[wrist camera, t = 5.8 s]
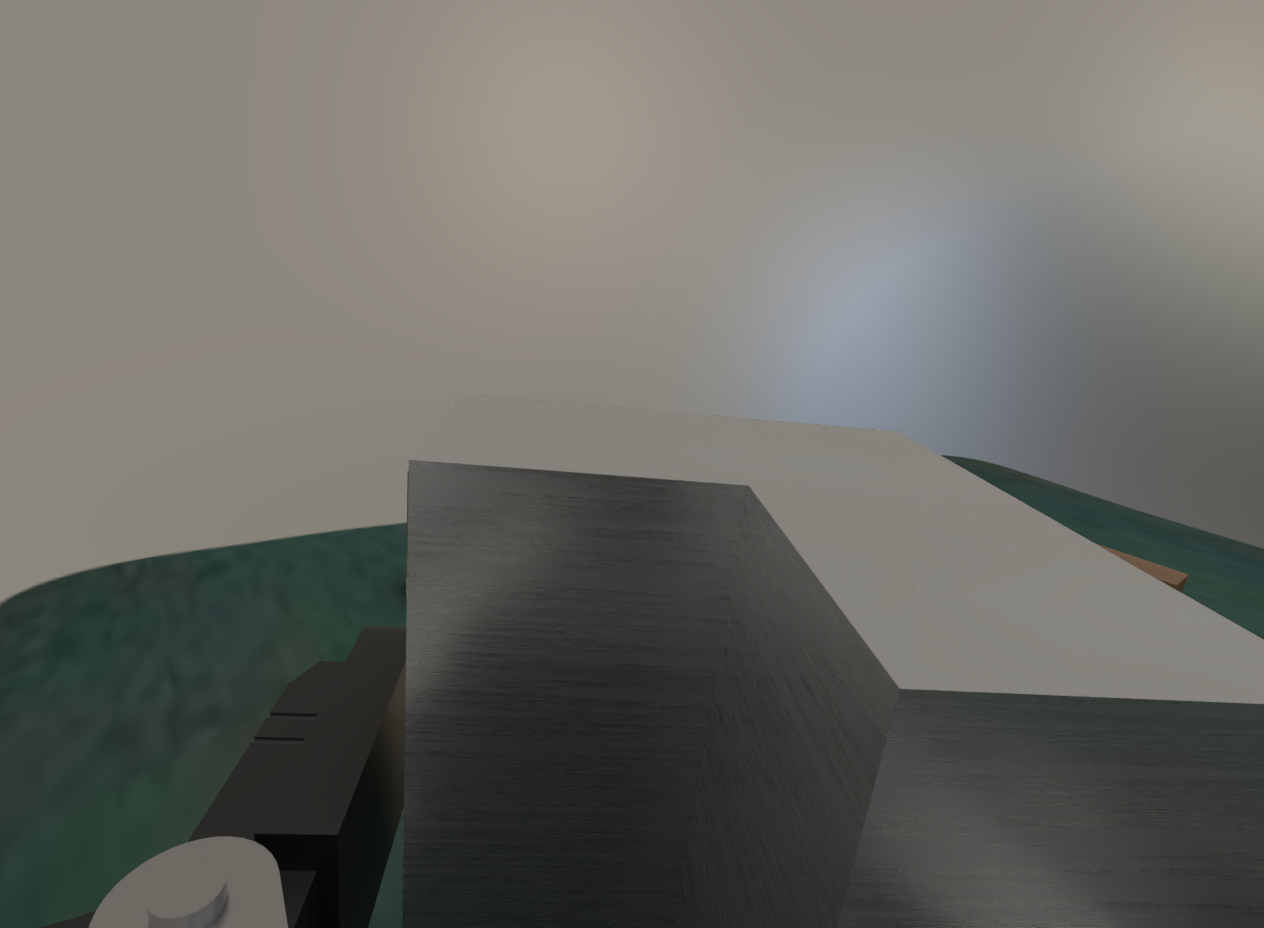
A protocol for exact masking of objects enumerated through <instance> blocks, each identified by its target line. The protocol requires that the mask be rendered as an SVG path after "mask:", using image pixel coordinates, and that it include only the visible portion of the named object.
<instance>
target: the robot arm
mask: <svg viewBox="0 0 1264 928" xmlns="http://www.w3.org/2000/svg"><path fill="white" fill-rule="evenodd" d="M405 700H406V628H401V627H380V626H366V627H365V628H364V629H363V631H362V633H361V634H360V636H359V638H358V640H357V642H356V644H355V646H354V648H353V649H352V651H351V653H350V655H349V657H348V659H347V661H346V662H329V661H319V662H318V663H316V664H315V665H314V666H312V667H311V668H310V669H308V670H307V671H306V672H304V673H303V674H301V675H300V676H299V677H297V678H296V679H295V680H293V681H292V682H291V683H289V684H288V685H287V687H286V689H285V690H284V692H283V693H282V695H281V696H280V698H279V700H278V701H277V703H276V704H275V706H274V707H273V709H272V711H271V712H270V717H269V718H266V720H265V722H264V723H263V725H262V726H261V728H260V729H259V731H258V732H257V734H256V736H255V740H254V743H250V745H249V747H248V748H247V750H246V751H245V753H244V754H243V756H242V758H241V759H240V761H239V762H238V764H237V765H236V767H235V769H234V770H233V772H232V773H231V775H230V776H229V778H228V780H227V781H226V783H225V784H224V786H223V787H222V789H221V791H220V792H219V794H218V795H217V797H216V798H215V800H214V802H213V803H212V805H211V806H210V808H209V809H208V811H207V813H206V814H205V816H204V817H203V819H202V820H201V822H200V823H199V825H198V827H197V828H196V830H195V831H194V833H193V834H192V836H191V838H190V839H189V841H188V842H187V843H185V844H182V845H179V846H176V847H173V848H171V849H169V850H167V851H165V852H163V853H161V854H158V855H156V856H155V857H153V858H151V859H150V860H148V861H146V862H145V863H143V864H141V865H140V866H139V867H137V868H136V869H135V870H133V871H132V872H131V873H129V874H128V875H127V876H126V877H125V878H123V879H122V880H121V881H120V882H119V883H118V884H117V885H116V886H115V887H114V888H113V889H112V890H111V891H110V892H109V894H108V895H107V896H106V897H105V898H104V900H103V901H102V903H101V904H100V906H99V907H98V909H97V910H96V911H94V912H91V913H88V914H86V915H83V916H80V917H76V918H73V919H70V920H67V921H63V922H59V923H55V924H51V925H47V926H43V927H39V928H368V926H369V922H370V919H371V915H372V912H373V909H374V905H375V902H376V898H377V895H378V892H379V888H380V885H381V881H382V878H383V875H384V871H385V868H386V864H387V861H388V858H389V854H390V851H391V847H392V844H393V841H394V837H395V834H396V830H397V827H398V824H399V820H400V817H401V813H402V810H403V807H404V773H405Z"/></svg>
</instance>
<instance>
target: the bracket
mask: <svg viewBox="0 0 1264 928" xmlns="http://www.w3.org/2000/svg"><path fill="white" fill-rule="evenodd" d="M402 928H1264V640H1263V639H1261V638H1260V637H1258V636H1256V635H1254V634H1253V633H1251V632H1249V631H1247V630H1245V629H1244V628H1242V627H1240V626H1238V625H1237V624H1235V623H1233V622H1231V621H1230V620H1228V619H1226V618H1224V617H1223V616H1221V615H1219V614H1217V613H1216V612H1214V611H1212V610H1210V609H1209V608H1207V607H1205V606H1203V605H1202V604H1200V603H1198V602H1196V601H1195V600H1193V599H1191V598H1189V597H1188V596H1186V595H1184V594H1182V593H1181V592H1179V591H1177V590H1175V589H1174V588H1172V587H1170V586H1168V585H1167V584H1165V583H1163V582H1161V581H1160V580H1158V579H1156V578H1154V577H1153V576H1151V575H1149V574H1147V573H1146V572H1144V571H1142V570H1140V569H1139V568H1137V567H1135V566H1133V565H1132V564H1130V563H1128V562H1126V561H1125V560H1123V559H1121V558H1119V557H1117V556H1116V555H1114V554H1112V553H1110V552H1109V551H1107V550H1105V549H1103V548H1102V547H1100V546H1098V545H1096V544H1095V543H1093V542H1091V541H1089V540H1088V539H1086V538H1084V537H1082V536H1081V535H1079V534H1077V533H1075V532H1074V531H1072V530H1070V529H1068V528H1067V527H1065V526H1063V525H1061V524H1060V523H1058V522H1056V521H1054V520H1053V519H1051V518H1049V517H1047V516H1046V515H1044V514H1042V513H1040V512H1039V511H1037V510H1035V509H1033V508H1032V507H1030V506H1028V505H1026V504H1025V503H1023V502H1021V501H1019V500H1018V499H1016V498H1014V497H1012V496H1011V495H1009V494H1007V493H1005V492H1004V491H1002V490H1000V489H998V488H997V487H995V486H993V485H991V484H990V483H988V482H986V481H984V480H982V479H981V478H979V477H977V476H975V475H974V474H972V473H970V472H968V471H967V470H965V469H963V468H961V467H960V466H958V465H956V464H954V463H953V462H951V461H949V460H947V459H946V458H944V457H942V456H940V455H938V454H937V453H935V452H933V451H931V450H930V449H928V448H926V447H925V446H923V445H921V444H919V443H918V442H916V441H914V440H912V439H910V438H909V437H907V436H905V435H903V434H902V433H900V432H897V431H885V430H874V429H863V428H851V427H840V426H828V425H817V424H806V423H794V422H783V421H771V420H760V419H749V418H736V417H726V416H714V415H703V414H692V413H691V414H690V413H680V412H668V411H657V410H646V409H635V408H634V409H633V408H623V407H612V406H600V405H589V404H578V403H566V402H555V401H554V402H553V401H542V400H532V399H521V398H520V399H519V398H509V397H498V396H485V395H475V394H463V393H458V394H457V395H456V397H455V398H454V399H453V401H452V402H451V404H450V405H449V406H448V408H447V409H446V410H445V412H444V413H443V414H442V416H441V417H440V418H439V420H438V421H437V422H436V424H435V425H434V427H433V428H432V429H431V430H430V432H429V433H428V435H427V436H426V437H425V438H424V440H423V441H422V443H421V444H420V445H419V447H418V448H417V449H416V451H415V452H414V453H413V455H412V456H411V458H410V459H409V479H408V553H407V626H406V700H405V773H404V846H403V920H402Z"/></svg>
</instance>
